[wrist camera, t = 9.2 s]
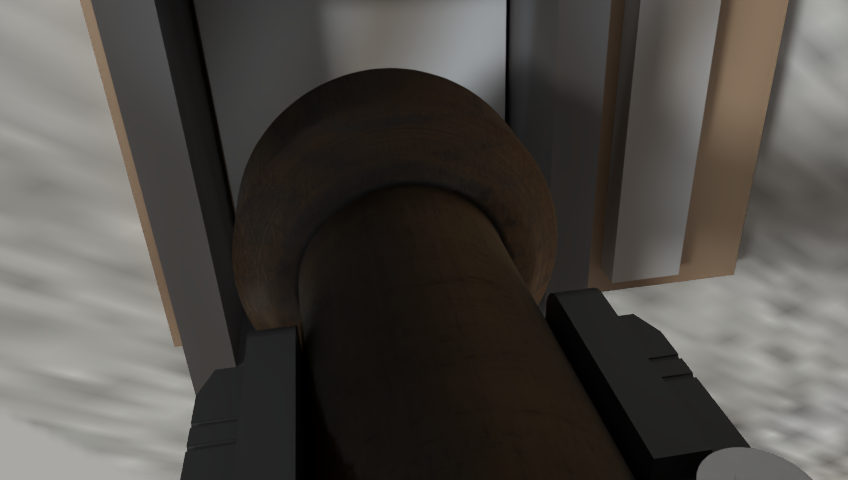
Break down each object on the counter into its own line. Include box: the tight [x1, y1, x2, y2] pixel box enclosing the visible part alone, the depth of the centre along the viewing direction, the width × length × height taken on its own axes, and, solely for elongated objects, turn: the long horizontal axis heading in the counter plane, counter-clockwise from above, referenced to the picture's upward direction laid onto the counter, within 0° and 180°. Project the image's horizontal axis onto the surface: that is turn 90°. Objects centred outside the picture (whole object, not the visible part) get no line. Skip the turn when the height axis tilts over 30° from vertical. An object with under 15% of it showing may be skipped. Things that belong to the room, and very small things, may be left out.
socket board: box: [80, 0, 789, 395], centre depth 20 cm, size 20×14×6 cm
